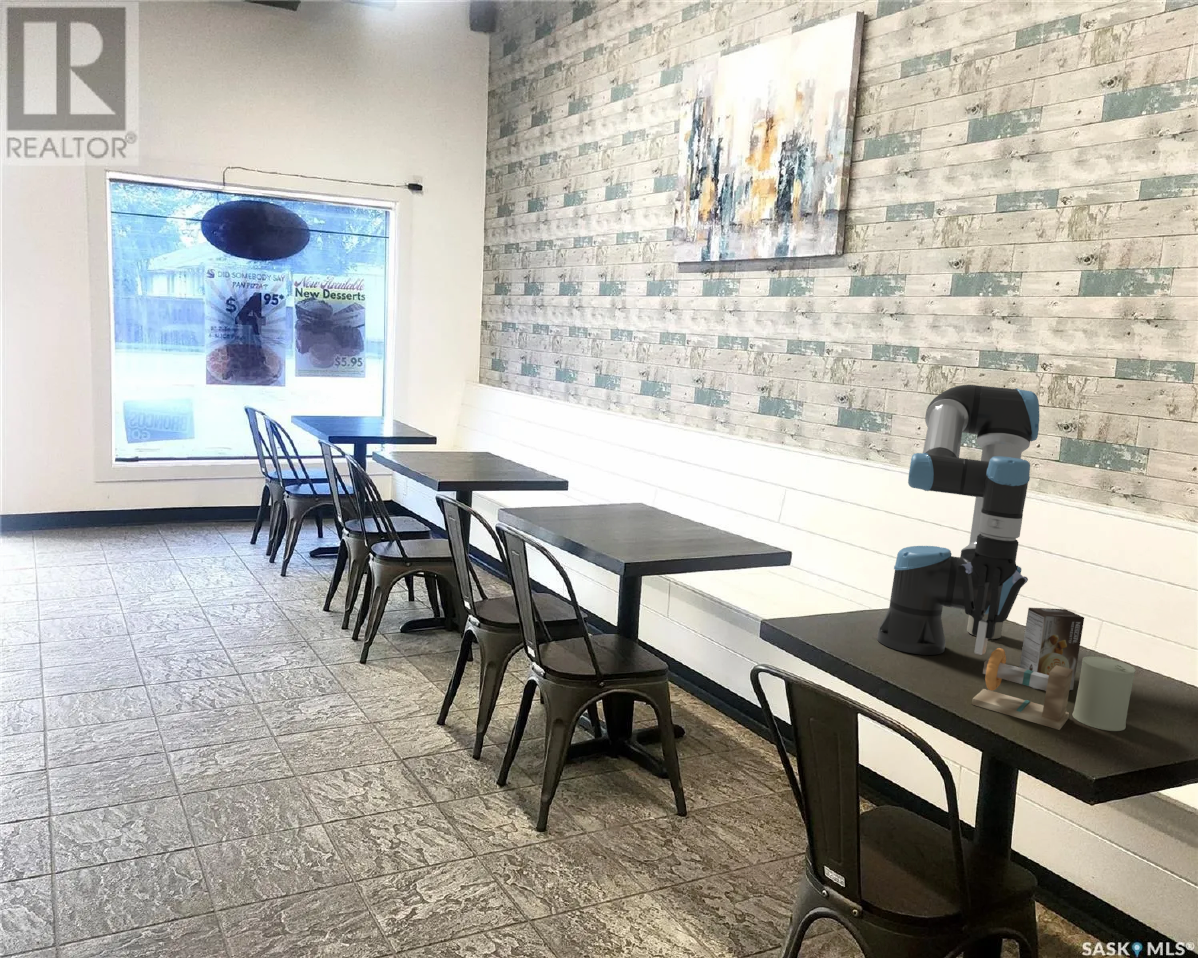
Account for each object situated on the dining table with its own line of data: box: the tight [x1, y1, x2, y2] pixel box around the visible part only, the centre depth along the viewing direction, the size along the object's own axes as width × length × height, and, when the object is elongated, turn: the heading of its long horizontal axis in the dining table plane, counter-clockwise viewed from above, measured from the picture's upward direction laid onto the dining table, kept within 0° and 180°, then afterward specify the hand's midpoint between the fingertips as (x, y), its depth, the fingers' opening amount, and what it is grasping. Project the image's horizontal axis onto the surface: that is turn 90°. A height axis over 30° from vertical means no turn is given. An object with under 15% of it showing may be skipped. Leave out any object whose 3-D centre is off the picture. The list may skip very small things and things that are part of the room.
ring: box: [984, 647, 1007, 691], centre depth 187 cm, size 2×8×8 cm, turn 143°
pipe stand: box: [971, 658, 1073, 731], centre depth 185 cm, size 16×8×10 cm, turn 53°
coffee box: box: [1019, 607, 1085, 691], centre depth 202 cm, size 9×6×16 cm
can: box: [1072, 655, 1137, 732], centre depth 183 cm, size 9×9×12 cm
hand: (979, 652), depth 189 cm, fingers closed
